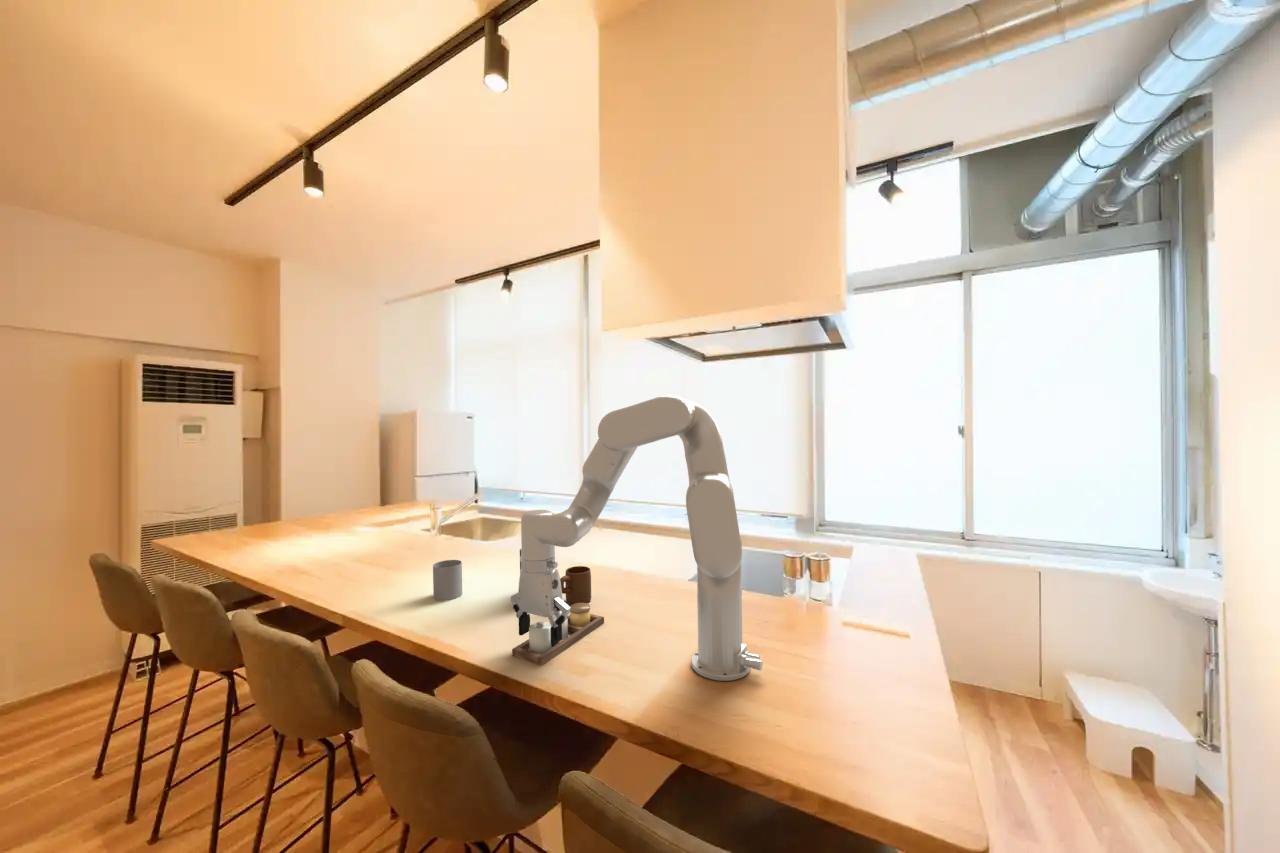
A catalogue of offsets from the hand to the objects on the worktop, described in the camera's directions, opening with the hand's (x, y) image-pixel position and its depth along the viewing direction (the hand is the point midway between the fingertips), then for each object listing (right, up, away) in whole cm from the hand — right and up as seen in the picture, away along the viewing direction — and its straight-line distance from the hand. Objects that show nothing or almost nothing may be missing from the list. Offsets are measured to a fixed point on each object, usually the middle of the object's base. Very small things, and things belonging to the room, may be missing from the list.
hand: (540, 637), depth 108 cm
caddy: (+4, -3, +7) cm, 8 cm away
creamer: (+3, -3, +7) cm, 8 cm away
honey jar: (+8, -3, +13) cm, 16 cm away
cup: (-37, -4, +37) cm, 52 cm away
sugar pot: (0, -3, 0) cm, 3 cm away
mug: (+4, -3, +29) cm, 29 cm away
